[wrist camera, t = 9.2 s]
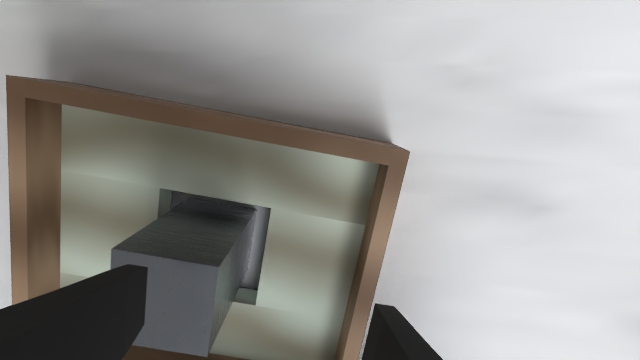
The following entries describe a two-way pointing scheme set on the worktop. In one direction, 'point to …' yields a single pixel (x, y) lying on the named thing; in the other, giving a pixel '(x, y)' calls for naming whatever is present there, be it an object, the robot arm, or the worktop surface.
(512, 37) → the worktop surface
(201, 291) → the charcoal peg
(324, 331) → the walnut box
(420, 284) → the worktop surface
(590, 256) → the worktop surface
